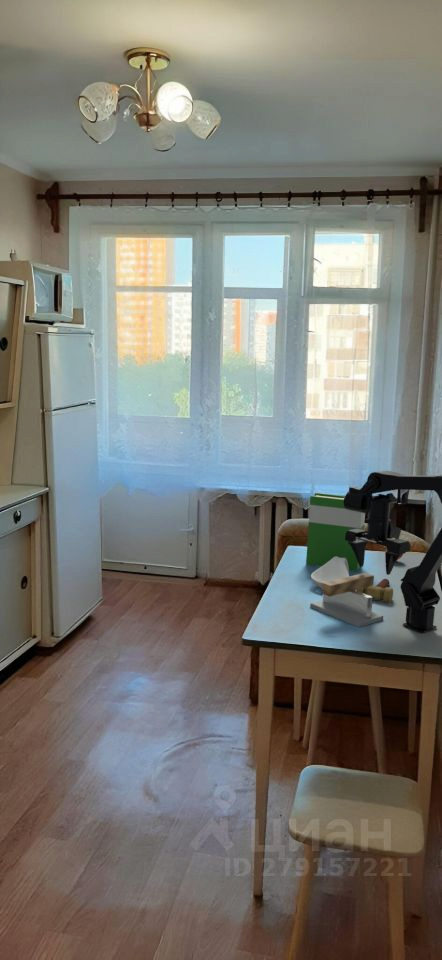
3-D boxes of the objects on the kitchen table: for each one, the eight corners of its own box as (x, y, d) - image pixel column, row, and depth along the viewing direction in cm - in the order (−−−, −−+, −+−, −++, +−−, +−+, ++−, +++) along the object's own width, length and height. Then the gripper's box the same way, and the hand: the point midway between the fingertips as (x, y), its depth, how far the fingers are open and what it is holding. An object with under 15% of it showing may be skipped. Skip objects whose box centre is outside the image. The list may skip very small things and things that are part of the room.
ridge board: (383, 619, 195) (383, 615, 194) (358, 627, 188) (359, 622, 188) (334, 600, 208) (334, 597, 208) (310, 607, 202) (310, 603, 202)
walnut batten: (329, 596, 190) (330, 585, 190) (321, 593, 193) (322, 582, 192) (373, 585, 202) (374, 575, 201) (365, 582, 204) (365, 572, 203)
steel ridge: (371, 617, 193) (372, 596, 192) (366, 618, 191) (367, 598, 191) (327, 600, 205) (328, 581, 204) (322, 601, 204) (324, 582, 203)
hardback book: (306, 564, 245) (310, 496, 241) (311, 559, 252) (315, 492, 248) (357, 571, 239) (362, 501, 235) (361, 566, 246) (366, 498, 242)
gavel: (372, 571, 230) (403, 576, 226) (371, 584, 231) (402, 590, 227) (357, 584, 211) (390, 590, 207) (355, 599, 212) (389, 605, 208)
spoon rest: (344, 597, 213) (345, 573, 212) (306, 590, 217) (307, 568, 216) (358, 576, 235) (360, 555, 234) (323, 570, 239) (325, 550, 238)
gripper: (424, 519, 195) (419, 573, 198) (369, 507, 209) (365, 558, 212) (400, 523, 188) (396, 580, 190) (345, 511, 202) (341, 564, 204)
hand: (374, 570), depth 199 cm, fingers open, 9 cm apart
